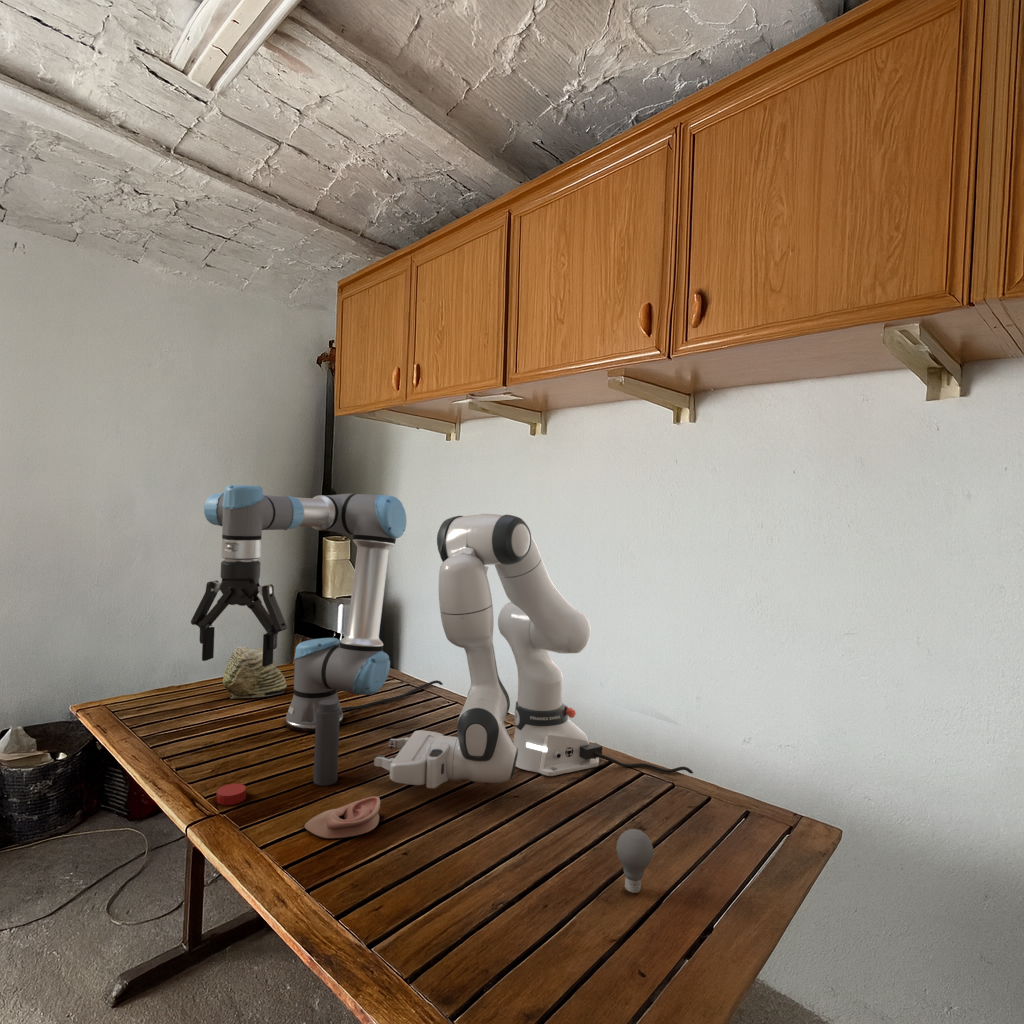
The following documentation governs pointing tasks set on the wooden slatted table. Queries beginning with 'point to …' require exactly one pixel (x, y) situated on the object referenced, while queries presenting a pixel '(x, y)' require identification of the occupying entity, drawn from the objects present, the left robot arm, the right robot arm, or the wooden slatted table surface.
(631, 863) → the light bulb
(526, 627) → the right robot arm
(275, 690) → the fossil
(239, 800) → the lid
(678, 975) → the wooden slatted table surface
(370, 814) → the anatomical model
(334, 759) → the jar
